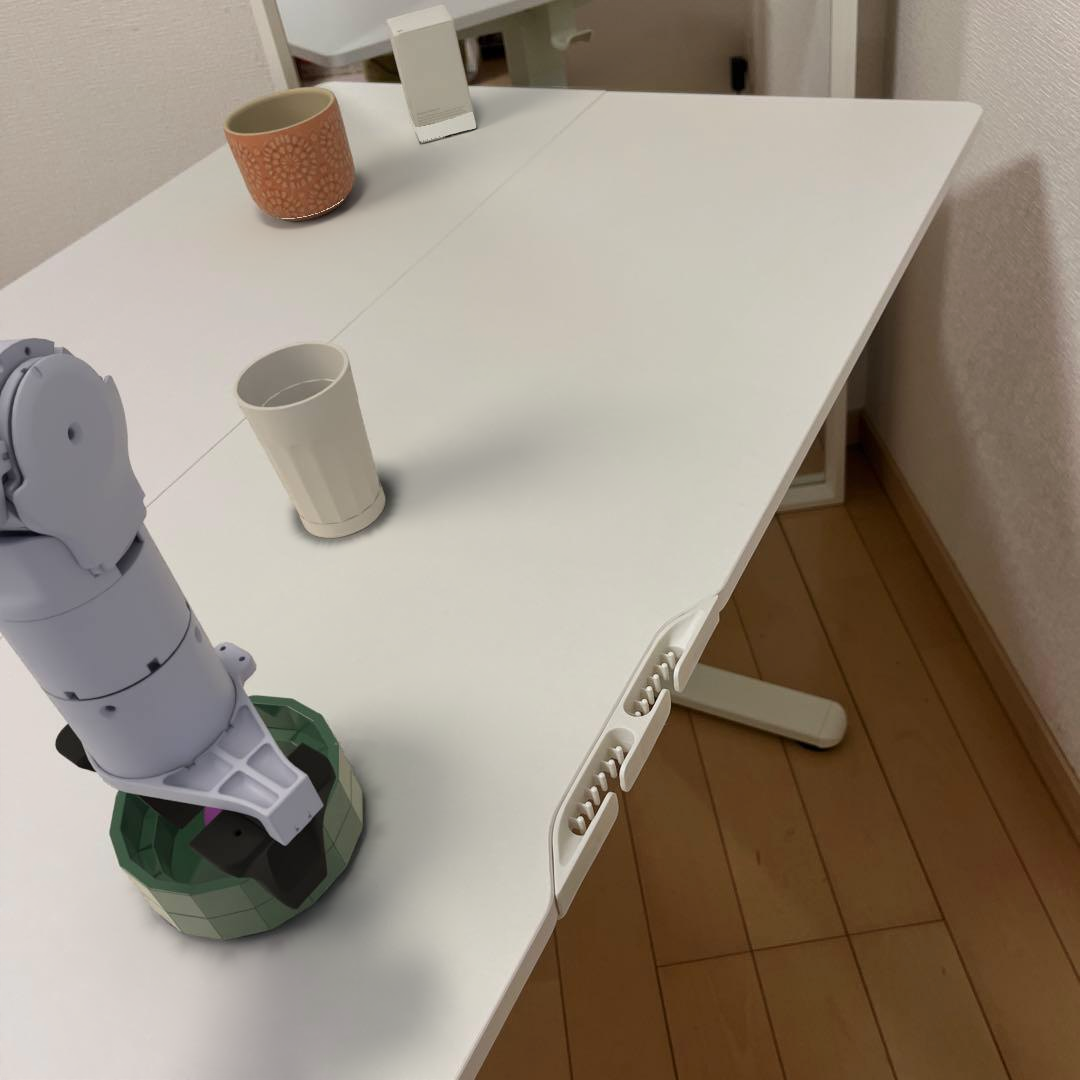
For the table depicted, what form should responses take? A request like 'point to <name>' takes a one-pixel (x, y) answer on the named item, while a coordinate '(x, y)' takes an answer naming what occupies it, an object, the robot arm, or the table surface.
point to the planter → (292, 152)
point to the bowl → (198, 886)
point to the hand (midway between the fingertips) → (248, 847)
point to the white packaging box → (430, 65)
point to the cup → (313, 434)
